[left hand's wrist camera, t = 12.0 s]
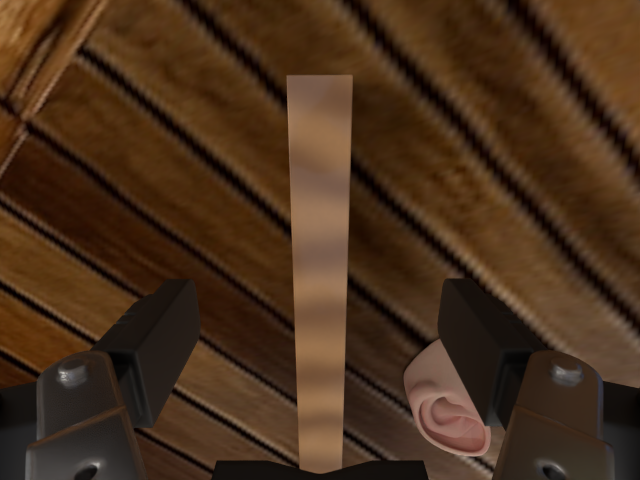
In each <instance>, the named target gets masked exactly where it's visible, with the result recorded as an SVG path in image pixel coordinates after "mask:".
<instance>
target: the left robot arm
mask: <svg viewBox="0 0 640 480" xmlns="http://www.w3.org/2000/svg"><path fill="white" fill-rule="evenodd" d="M438 333H439V337H440V340H441V342H442V344H443V346H444V348H445V350H446V352H447V354H448V356H449V358H450V360H451V362H452V364H453V365H454V367H455V369H456V371H457V373H458V375H459V377H460V379H461V381H462V383H463V385H464V387H465V389H466V391H467V393H468V395H469V397H470V398H471V400H472V402H473V404H474V406H475V408H476V410H477V412H478V414H479V416H480V418H481V420H482V422H483V424H484V426H503V428H504V429H505V431H506V434H505V437H504V441H503V444H502V447H501V450H500V454H499V457H498V460H497V464H496V467H495V470H494V474H493V477H492V480H640V388H634V387H630V386H625V385H620V384H615V383H611V382H606V381H603V380H602V378H601V376H600V375H599V374H598V373H597V372H596V371H595V370H594V369H593V368H592V367H591V366H590V365H588V364H587V363H585V362H583V361H581V360H580V359H578V358H576V357H573V356H571V355H568V354H565V353H562V352H557V351H551V350H548V349H547V348H546V347H545V346H544V345H543V344H542V343H541V342H540V341H539V340H538V339H537V338H536V337H535V336H534V335H533V333H532V332H531V331H530V330H529V329H528V328H527V327H526V326H525V325H524V324H523V323H521V321H520V320H519V318H518V317H517V316H516V315H513V312H512V311H511V310H510V309H509V308H508V307H507V306H506V305H505V304H504V302H502V301H500V300H498V299H497V298H495V297H493V296H492V295H490V294H484V293H483V291H482V290H481V289H480V288H479V287H478V286H477V285H476V283H475V282H474V281H473V280H472V279H445V281H444V283H443V288H442V295H441V302H440V309H439V316H438ZM199 335H200V315H199V308H198V301H197V294H196V287H195V283H194V281H193V280H192V279H167V280H166V281H165V282H164V283H163V284H162V285H161V286H160V287H159V288H158V289H157V291H156V292H155V293H154V294H149V295H147V296H146V297H144V298H142V299H140V300H139V301H137V302H135V303H134V304H133V305H132V306H131V307H130V308H129V309H128V310H127V311H126V312H125V315H123V316H122V317H121V318H120V319H119V320H118V321H117V322H116V324H114V325H113V326H112V327H111V328H110V329H109V330H108V331H107V332H106V334H105V335H104V336H103V337H102V338H101V339H100V340H99V341H98V342H97V343H96V344H95V345H94V346H93V347H92V348H91V349H90V350H89V351H83V352H78V353H75V354H72V355H69V356H67V357H64V358H62V359H60V360H59V361H57V362H55V363H53V364H52V365H50V366H49V367H48V368H47V369H46V370H45V371H44V372H43V373H42V374H41V375H40V376H39V378H38V380H37V381H36V382H32V383H27V384H22V385H18V386H13V387H8V388H3V389H0V480H148V477H147V474H146V470H145V467H144V464H143V460H142V457H141V454H140V450H139V447H138V444H137V441H136V437H135V434H134V431H133V429H134V428H152V427H153V426H154V424H155V422H156V420H157V418H158V416H159V414H160V412H161V410H162V408H163V406H164V404H165V403H166V401H167V399H168V397H169V395H170V393H171V391H172V389H173V387H174V385H175V383H176V381H177V380H178V378H179V376H180V374H181V372H182V370H183V368H184V366H185V364H186V362H187V360H188V358H189V357H190V355H191V353H192V351H193V349H194V347H195V345H196V343H197V341H198V339H199ZM211 480H429V479H428V475H427V472H426V469H425V465H424V462H423V461H369V462H365V463H361V464H358V465H354V466H350V467H346V468H342V469H339V470H335V471H331V472H327V473H322V474H318V473H313V472H309V471H305V470H301V469H298V468H294V467H290V466H286V465H282V464H279V463H275V462H271V461H217V462H216V465H215V469H214V472H213V475H212V479H211Z"/></svg>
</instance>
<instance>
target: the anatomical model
mask: <svg viewBox="0 0 640 480" xmlns="http://www.w3.org/2000/svg"><path fill="white" fill-rule="evenodd" d="M404 386H405V391H406V395H407V398H408V401H409V404H410V406H411V409H412V413H413V416H414V420H415V423H416V425H417V427H418V429H419V431H420V432H421V434H422V435H423V436H424V437H425V438H426V439H427V440H428V441H429V442H431V443H432V444H434V445H435V446H437V447H439V448H441V449H443V450H445V451H448V452H451V453H454V454H459V455H464V456H480V455H482V454H484V453H485V452H486V451H487V450H488V448H489V445H490V439H491V433H490V426H484V424H483V422H482V420H481V418H480V416H479V414H478V412H477V410H476V408H475V406H474V404H473V402H472V400H471V398H470V397H469V395H468V393H467V391H466V389H465V387H464V385H463V383H462V381H461V379H460V377H459V375H458V373H457V371H456V369H455V367H454V365H453V364H452V362H451V360H450V358H449V356H448V354H447V352H446V350H445V348H444V346H443V344H442V342H441V340H440V339H438V340H436V341H434V342H433V343H431V344H430V345H429V346H428V347H427V348H425V349H424V350H423V351H422V352H421V353H420V354H419V355H418V356H417V357H416V358H415V359H414V360H413V361H412V362H411V363H410V365H409V366H408V367H407V369H406V370H405V373H404Z"/></svg>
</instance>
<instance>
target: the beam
mask: <svg viewBox="0 0 640 480" xmlns="http://www.w3.org/2000/svg"><path fill="white" fill-rule="evenodd" d="M352 96H353V75H287V103H288V133H289V163H290V194H291V224H292V254H293V284H294V314H295V344H296V374H297V404H298V434H299V464H300V469H301V470H305V471H309V472H313V473H318V474H322V473H327V472H331V471H335V470H339V469H342V446H343V411H344V376H345V341H346V306H347V271H348V236H349V201H350V166H351V131H352Z"/></svg>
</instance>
